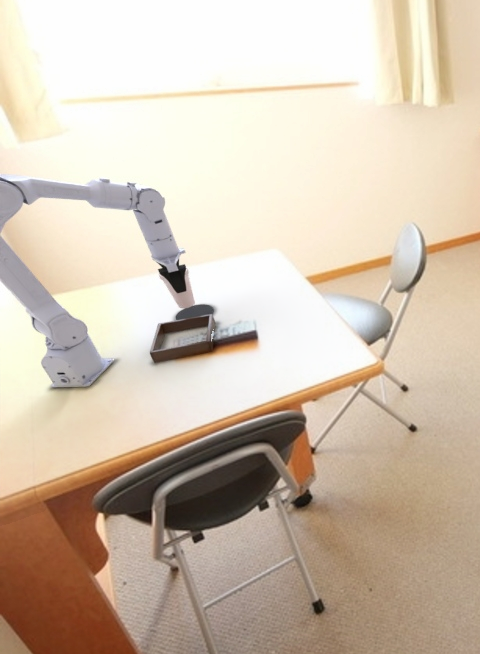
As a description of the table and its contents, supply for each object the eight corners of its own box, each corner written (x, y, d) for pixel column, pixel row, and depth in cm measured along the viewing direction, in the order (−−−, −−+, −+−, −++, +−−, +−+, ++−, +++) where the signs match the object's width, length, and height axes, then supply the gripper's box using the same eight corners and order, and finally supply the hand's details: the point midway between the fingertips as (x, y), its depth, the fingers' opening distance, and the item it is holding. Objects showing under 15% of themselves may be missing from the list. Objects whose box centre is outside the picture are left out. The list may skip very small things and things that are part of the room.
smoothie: (179, 314, 122) (158, 263, 114) (168, 305, 125) (146, 256, 118) (205, 303, 126) (186, 254, 119) (193, 295, 130) (174, 247, 122)
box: (212, 351, 118) (208, 341, 116) (154, 363, 114) (149, 352, 112) (215, 323, 128) (212, 313, 126) (162, 333, 124) (158, 323, 122)
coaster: (204, 323, 128) (204, 321, 128) (169, 323, 127) (168, 322, 127) (219, 305, 135) (218, 304, 135) (186, 305, 135) (185, 304, 135)
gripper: (183, 242, 113) (202, 293, 120) (173, 223, 122) (191, 271, 130) (148, 250, 109) (170, 302, 116) (140, 229, 118) (161, 278, 126)
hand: (179, 286), depth 123 cm, fingers closed on smoothie, 6 cm apart
